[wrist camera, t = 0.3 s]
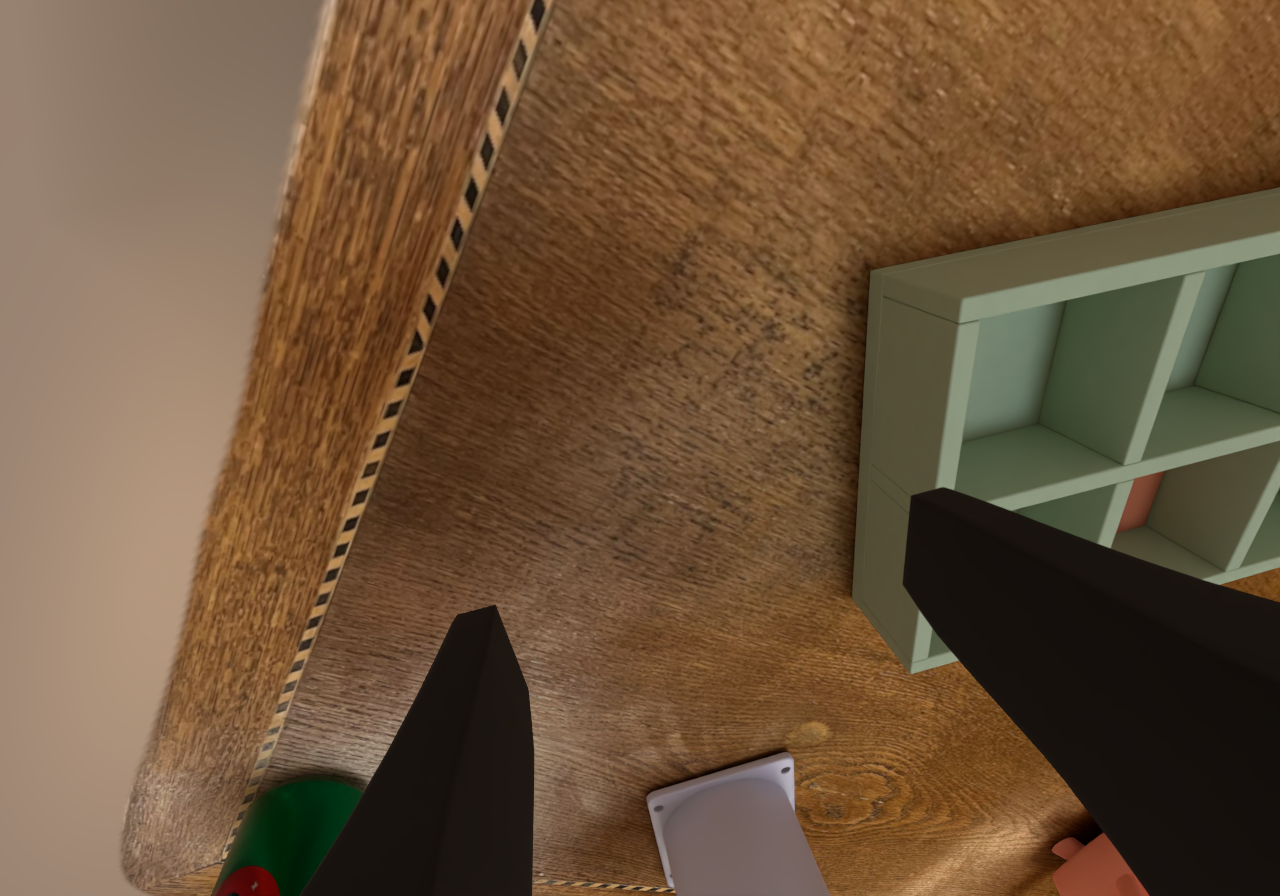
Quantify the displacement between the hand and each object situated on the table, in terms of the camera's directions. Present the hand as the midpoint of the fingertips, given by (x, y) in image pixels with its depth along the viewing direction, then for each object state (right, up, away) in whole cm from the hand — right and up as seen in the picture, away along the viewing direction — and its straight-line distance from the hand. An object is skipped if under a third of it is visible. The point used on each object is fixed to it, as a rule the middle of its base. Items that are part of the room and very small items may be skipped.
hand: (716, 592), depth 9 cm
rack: (+18, +4, +13) cm, 23 cm away
